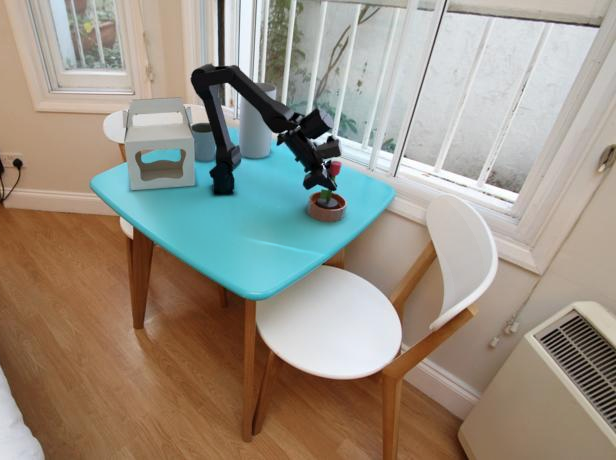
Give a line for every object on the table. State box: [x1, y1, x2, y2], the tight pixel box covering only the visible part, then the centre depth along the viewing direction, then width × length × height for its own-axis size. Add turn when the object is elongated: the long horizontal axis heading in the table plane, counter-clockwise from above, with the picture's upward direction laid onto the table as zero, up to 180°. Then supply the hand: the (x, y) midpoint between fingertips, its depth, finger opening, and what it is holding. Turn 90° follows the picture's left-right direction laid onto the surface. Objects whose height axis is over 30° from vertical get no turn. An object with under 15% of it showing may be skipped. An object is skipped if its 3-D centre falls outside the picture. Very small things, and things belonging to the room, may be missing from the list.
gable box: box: [122, 96, 196, 191], centre depth 124 cm, size 22×13×28 cm, turn 96°
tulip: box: [317, 160, 342, 210], centre depth 107 cm, size 6×6×14 cm
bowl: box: [306, 191, 348, 223], centre depth 112 cm, size 11×11×4 cm
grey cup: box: [191, 122, 216, 163], centre depth 143 cm, size 10×10×12 cm
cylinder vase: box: [238, 82, 277, 160], centre depth 141 cm, size 12×12×25 cm
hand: (335, 188), depth 108 cm, fingers closed on tulip
